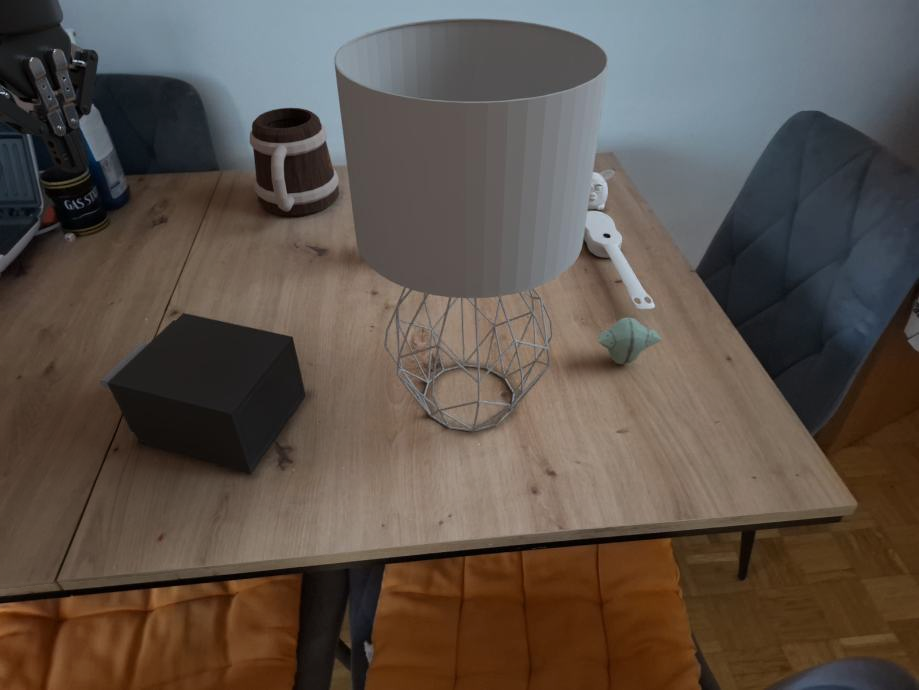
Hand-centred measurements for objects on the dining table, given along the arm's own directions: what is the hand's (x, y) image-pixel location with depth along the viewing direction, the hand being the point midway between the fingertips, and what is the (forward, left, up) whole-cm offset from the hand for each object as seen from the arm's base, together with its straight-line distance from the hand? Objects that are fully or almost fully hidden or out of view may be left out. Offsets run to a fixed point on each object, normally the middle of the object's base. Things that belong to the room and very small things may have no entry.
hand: (75, 169), depth 61 cm
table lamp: (+37, -8, -29) cm, 48 cm away
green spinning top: (+58, -5, -29) cm, 65 cm away
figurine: (+67, +37, -29) cm, 82 cm away
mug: (+15, +45, -29) cm, 56 cm away
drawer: (+5, -5, -28) cm, 29 cm away
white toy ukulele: (+64, +16, -29) cm, 73 cm away
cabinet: (+8, -7, -29) cm, 31 cm away
